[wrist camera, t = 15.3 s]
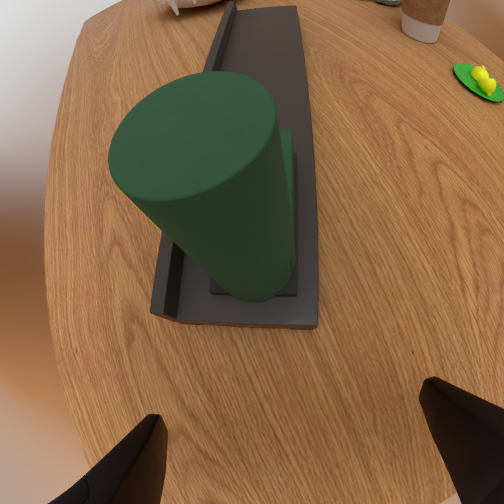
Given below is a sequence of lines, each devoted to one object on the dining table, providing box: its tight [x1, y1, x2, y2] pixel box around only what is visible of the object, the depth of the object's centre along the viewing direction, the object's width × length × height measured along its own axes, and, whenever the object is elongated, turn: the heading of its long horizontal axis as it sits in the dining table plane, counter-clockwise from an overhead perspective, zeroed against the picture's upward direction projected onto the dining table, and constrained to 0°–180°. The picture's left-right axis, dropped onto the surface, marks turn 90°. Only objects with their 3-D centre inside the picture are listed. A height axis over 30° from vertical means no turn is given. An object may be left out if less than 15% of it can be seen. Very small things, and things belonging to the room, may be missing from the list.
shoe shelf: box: [150, 1, 318, 330], centre depth 26 cm, size 44×10×4 cm, turn 176°
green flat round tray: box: [454, 63, 504, 102], centre depth 24 cm, size 8×8×3 cm
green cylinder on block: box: [108, 71, 298, 302], centre depth 14 cm, size 11×5×12 cm, turn 177°
